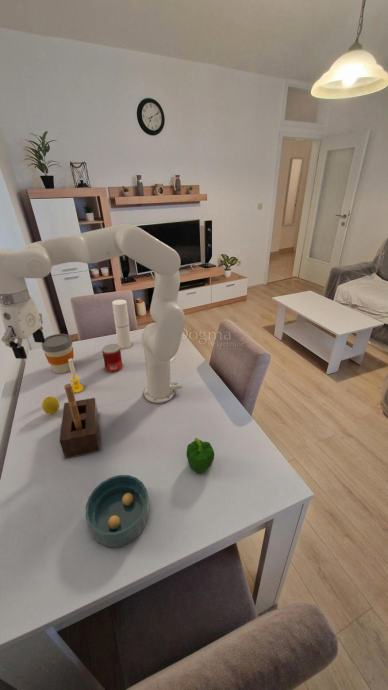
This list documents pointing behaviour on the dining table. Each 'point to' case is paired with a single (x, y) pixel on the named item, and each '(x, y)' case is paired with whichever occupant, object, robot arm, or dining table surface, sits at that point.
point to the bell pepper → (200, 455)
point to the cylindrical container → (121, 323)
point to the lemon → (50, 405)
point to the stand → (80, 439)
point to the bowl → (117, 510)
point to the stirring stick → (73, 406)
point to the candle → (75, 378)
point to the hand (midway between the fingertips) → (31, 349)
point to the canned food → (112, 357)
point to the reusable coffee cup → (58, 352)
